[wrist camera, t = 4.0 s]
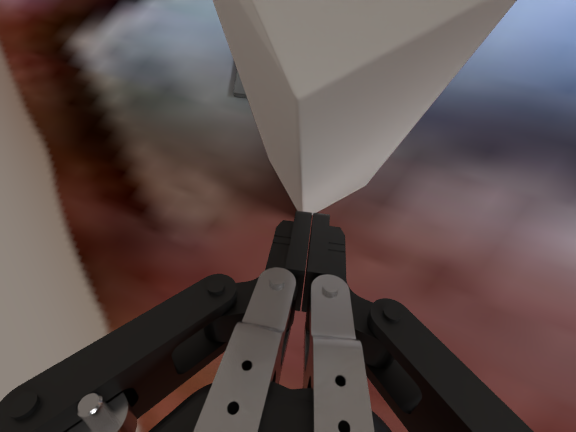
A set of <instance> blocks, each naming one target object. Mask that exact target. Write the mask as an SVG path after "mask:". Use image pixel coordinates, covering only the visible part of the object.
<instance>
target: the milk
mask: <svg viewBox="0 0 576 432" xmlns="http://www.w3.org/2000/svg"><path fill="white" fill-rule="evenodd" d="M516 1H517V0H213V2H214V5H215V8H216V11H217V14H218V16H219V19H220V22H221V25H222V28H223V31H224V33H225V36H226V39H227V42H228V45H229V48H230V51H231V53H232V56H233V59H234V62H235V65H236V68H237V70H238V73H239V76H240V79H241V82H242V85H243V87H244V90H245V93H246V96H247V99H248V102H249V104H250V107H251V110H252V113H253V116H254V119H255V121H256V124H257V127H258V130H259V133H260V136H261V138H262V141H263V144H264V147H265V150H266V153H267V155H268V158H269V161H270V163H271V164H272V166H273V168H274V170H275V172H276V173H277V175H278V177H279V179H280V180H281V182H282V184H283V186H284V188H285V189H286V191H287V193H288V195H289V197H290V198H291V200H292V202H293V204H294V206H295V207H296V209H297V211H303V212H311V213H312V215H313V213H317V212H318V211H320V210H322V209H324V208H326V207H328V206H329V205H331V204H333V203H335V202H337V201H339V200H340V199H342V198H344V197H346V196H348V195H350V194H351V193H353V192H355V191H357V190H359V189H361V188H362V187H364V186H366V185H367V183H368V182H369V181H370V180H371V178H372V177H373V176H374V175H375V174H376V172H377V171H378V170H379V169H380V167H381V166H382V165H383V164H384V162H385V161H386V160H387V159H388V158H389V156H390V155H391V154H392V153H393V151H394V150H395V149H396V148H397V147H398V145H399V144H400V143H401V142H402V140H403V139H404V138H405V137H406V136H407V134H408V133H409V132H410V131H411V129H412V128H413V127H414V126H415V124H416V123H417V122H418V121H419V120H420V118H421V117H422V116H423V115H424V113H425V112H426V111H427V110H428V109H429V107H430V106H431V105H432V104H433V102H434V101H435V100H436V99H437V98H438V96H439V95H440V94H441V93H442V91H443V90H444V89H445V88H446V86H447V85H448V84H449V83H450V82H451V80H452V79H453V78H454V77H455V75H456V74H457V73H458V72H459V71H460V69H461V68H462V67H463V66H464V64H465V63H466V62H467V61H468V59H469V58H470V57H471V56H472V55H473V53H474V52H475V51H476V50H477V48H478V47H479V46H480V45H481V44H482V42H483V41H484V40H485V39H486V37H487V36H488V35H489V34H490V33H491V31H492V30H493V29H494V28H495V26H496V25H497V24H498V23H499V21H500V20H501V19H502V18H503V17H504V15H505V14H506V13H507V12H508V10H509V9H510V8H511V7H512V6H513V4H514V3H515V2H516Z"/></svg>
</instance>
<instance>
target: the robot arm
mask: <svg viewBox="0 0 576 432" xmlns="http://www.w3.org/2000/svg"><path fill="white" fill-rule="evenodd" d="M311 217H312V213H311V212H303V211H296V214H295V219H294V222H293V221H285V220H283V221H282V222H281V223H280V224H279V225H278V226H277V227H276V231H275V235H274V239H273V243H272V246H271V250H270V254H269V258H268V262H267V265H266V269H265V271H264V272H262V273H261V275H260V276H259V277H258V278H257V279H254V280H252V281H248V282H241V283H235V281H234V280H233V279H232V278H231V277H229V276H227V275H223V274H214V275H210V276H208V277H206V278H204V279H202V280H200V281H199V282H197V283H195V284H194V285H192V286H190V287H188V288H187V289H185V290H183V291H182V292H180V293H178V294H176V295H175V296H173V297H171V298H169V299H168V300H166V301H164V302H163V303H161V304H159V305H157V306H156V307H154V308H152V309H151V310H149V311H147V312H145V313H144V314H142V315H140V316H138V317H137V318H135V319H133V320H132V321H130V322H128V323H126V324H125V325H123V326H121V327H120V328H118V329H116V330H114V331H113V332H111V333H109V334H107V335H106V336H104V337H102V338H101V339H99V340H97V341H95V342H94V343H92V344H90V345H89V346H87V347H85V348H83V349H82V350H80V351H78V352H76V353H75V354H73V355H71V356H70V357H68V358H66V359H64V360H63V361H61V362H60V363H58V364H56V365H54V366H52V367H51V368H49V369H47V370H45V371H44V372H42V373H40V374H39V375H37V376H35V377H33V378H32V379H30V380H28V381H27V382H25V383H23V384H21V385H20V386H18V387H17V388H15V389H14V390H12V391H11V392H10V393H9V394H7V395H6V396H5V397H4V398H3V400H2V401H1V402H0V432H135V431H136V427H137V419H138V418H139V417H140V416H142V415H143V414H144V413H146V412H147V411H148V410H150V409H151V408H152V407H153V406H155V405H156V404H157V403H159V402H160V401H161V400H162V399H164V398H165V397H166V396H168V395H169V394H170V393H171V392H173V391H174V390H175V389H177V388H178V387H179V386H180V385H182V384H183V383H184V382H186V381H187V380H188V379H189V378H191V377H192V376H193V375H195V374H196V373H197V372H199V371H200V370H201V369H202V368H204V367H205V366H206V365H208V364H209V363H210V362H211V361H213V360H214V359H215V358H217V357H218V356H219V355H220V354H222V353H223V352H224V351H225V353H224V356H223V358H222V361H221V363H220V366H219V368H218V371H217V373H216V376H215V378H214V381H213V383H211V384H209V385H206V386H205V387H203V388H201V389H199V390H197V391H196V392H195V393H193V394H192V395H190V396H189V397H188V398H187V399H186V400H184V401H183V402H182V403H181V404H180V405H179V406H178V407H176V408H175V409H174V410H173V411H172V412H171V413H169V414H168V415H167V416H166V417H165V418H164V419H163V420H161V421H160V422H159V423H158V424H157V425H156V426H154V427H153V428H152V429H151V430H150V431H149V432H392V431H391V430H390V429H389V427H388V426H387V425H386V424H385V423H384V422H383V420H382V419H381V418H380V417H378V416H377V415H376V414H375V413H374V412H373V411H371V404H370V397H369V390H368V384H367V377H368V379H369V380H370V381H371V383H372V384H373V385H374V387H375V388H376V389H377V390H378V392H379V393H380V394H381V396H382V397H383V398H384V400H385V401H386V402H387V404H388V405H389V406H390V408H391V409H392V410H393V412H394V413H395V414H396V416H397V417H398V418H399V420H400V421H401V422H402V423H403V425H404V426H405V427H406V429H407V430H408V431H409V432H533V431H532V430H531V429H530V428H529V427H528V426H527V425H526V424H525V423H524V422H523V421H522V420H521V419H520V418H519V417H518V416H517V415H516V414H515V413H514V412H513V411H512V410H511V409H510V408H509V407H508V406H507V405H506V404H505V403H504V402H503V401H502V400H500V399H499V398H498V397H497V396H496V395H495V394H494V393H493V392H492V391H491V390H490V389H489V388H488V387H487V386H486V385H485V384H484V383H483V382H482V381H481V380H480V379H479V378H478V377H477V376H476V375H475V374H474V373H473V372H472V371H471V370H470V369H469V368H468V367H467V366H466V365H465V364H463V363H462V362H461V361H460V360H459V359H458V358H457V357H456V356H455V355H454V354H453V353H452V352H451V351H450V350H449V349H448V348H447V347H446V346H445V345H444V344H443V343H442V342H441V341H440V340H439V339H438V338H437V337H436V336H435V335H434V334H433V333H432V332H431V331H430V330H429V329H428V328H426V327H425V326H424V325H423V324H422V323H421V322H420V321H419V320H418V319H417V318H416V317H415V316H414V315H413V314H412V313H411V312H410V311H409V310H408V309H407V308H406V307H405V306H404V305H402V304H401V303H399V302H397V301H395V300H392V299H386V298H384V299H379V300H377V301H375V302H374V303H372V302H370V301H368V300H365V299H363V298H361V297H359V296H357V295H356V294H355V293H353V292H352V291H351V289H350V288H349V286H348V284H347V281H346V254H345V235H344V233H343V232H342V230H341V228H340V227H333V226H329V218H330V215H328V214H320V213H313V220H312V227H311V235H310V242H309V234H310V226H311ZM308 242H309V250H308ZM307 251H308V259H307ZM306 259H307V268H306ZM305 268H306V276H305V285H304V294H303V302H302V311H303V312H306V322H305V329H304V373H303V388H302V389H288V388H286V387H284V386H282V385H280V384H279V380H280V375H281V370H282V366H283V361H284V357H285V352H286V348H287V344H288V339H289V335H290V330H291V326H292V324H293V321H294V314H295V310H296V311H300V306H301V298H302V291H303V283H304V275H305ZM366 376H367V377H366Z"/></svg>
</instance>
